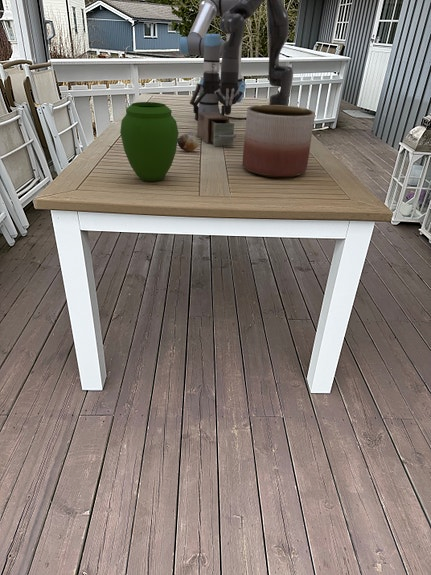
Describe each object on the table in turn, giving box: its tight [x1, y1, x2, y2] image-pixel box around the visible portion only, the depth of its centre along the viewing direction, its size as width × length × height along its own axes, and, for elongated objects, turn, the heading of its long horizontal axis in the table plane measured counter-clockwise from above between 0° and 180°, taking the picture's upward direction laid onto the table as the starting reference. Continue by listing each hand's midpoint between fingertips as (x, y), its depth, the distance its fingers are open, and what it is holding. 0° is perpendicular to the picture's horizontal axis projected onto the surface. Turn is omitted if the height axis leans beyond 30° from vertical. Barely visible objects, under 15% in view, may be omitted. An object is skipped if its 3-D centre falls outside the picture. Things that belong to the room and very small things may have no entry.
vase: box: [119, 101, 179, 182], centre depth 140 cm, size 20×20×24 cm
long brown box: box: [196, 112, 230, 145], centre depth 201 cm, size 17×10×11 cm, turn 19°
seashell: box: [177, 131, 200, 152], centre depth 179 cm, size 10×6×8 cm, turn 97°
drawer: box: [209, 120, 237, 147], centre depth 192 cm, size 22×9×10 cm, turn 19°
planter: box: [242, 104, 316, 179], centre depth 156 cm, size 25×25×22 cm
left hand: (209, 120), depth 204 cm, fingers open, 13 cm apart
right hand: (227, 114), depth 181 cm, fingers closed
